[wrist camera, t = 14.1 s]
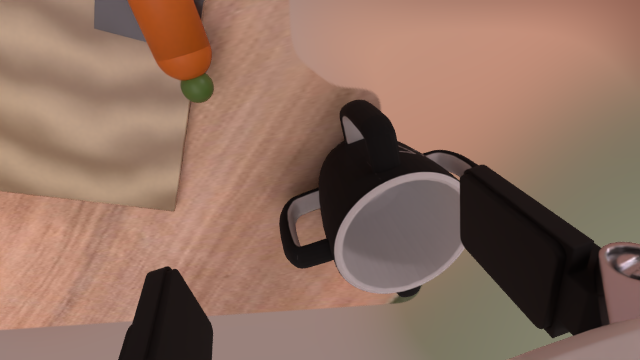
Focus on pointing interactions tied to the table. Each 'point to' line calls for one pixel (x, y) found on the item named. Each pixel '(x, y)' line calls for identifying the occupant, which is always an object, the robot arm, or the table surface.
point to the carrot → (177, 43)
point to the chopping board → (87, 106)
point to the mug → (380, 208)
